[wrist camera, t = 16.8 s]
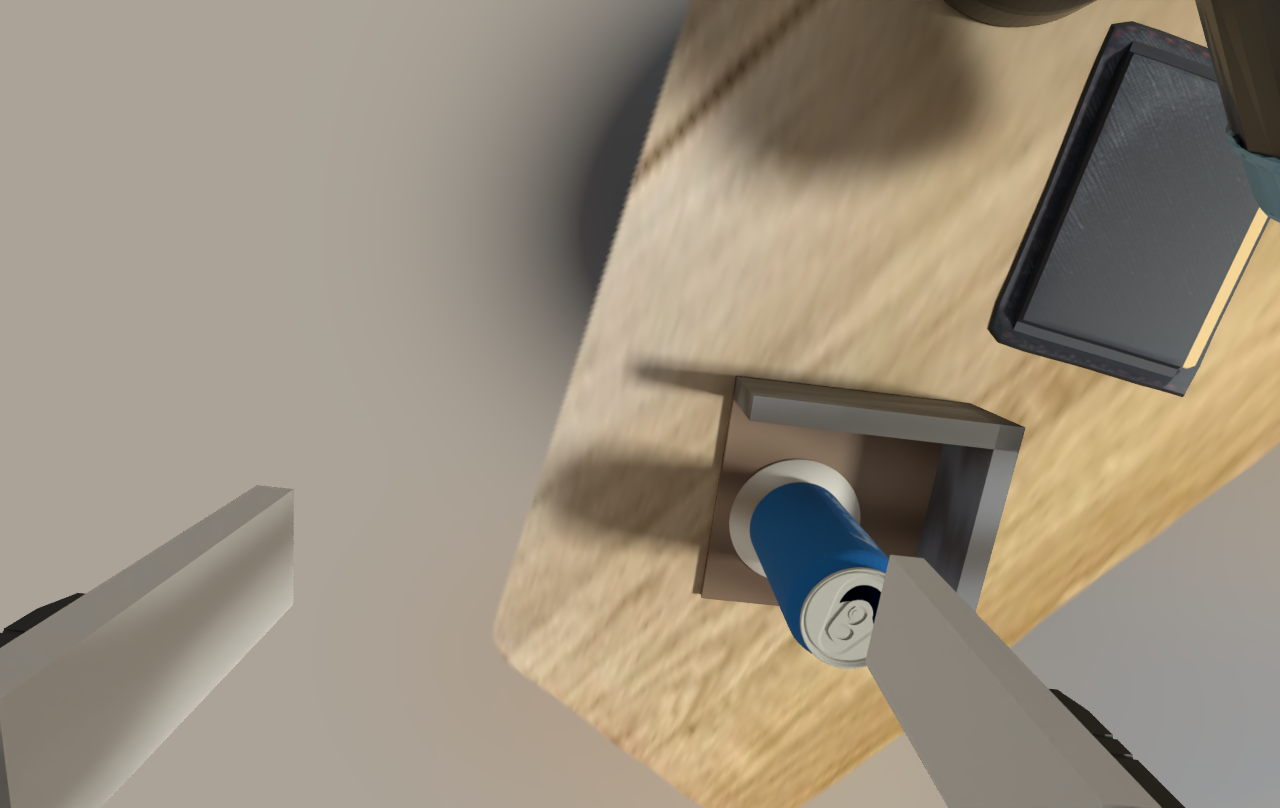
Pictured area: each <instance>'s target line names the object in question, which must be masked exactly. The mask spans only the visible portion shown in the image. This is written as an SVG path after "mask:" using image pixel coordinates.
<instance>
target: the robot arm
mask: <svg viewBox="0 0 1280 808" xmlns="http://www.w3.org/2000/svg"><path fill="white" fill-rule="evenodd" d="M945 1H946V2H947V3H948V4H949V5H951V6H952V7H954V8H955V9H956V10H958V11H960V12H961V13H963V14H965V15H967V16H969V17H971V18H973V19H976V20H978V21H981V22H984V23H988V24H992V25H997V26H1005V27H1028V26H1035V25H1040V24H1045V23H1048V22H1052V21H1055V20H1058V19H1060V18H1063V17H1065V16H1067V15H1070V14H1072V13H1074V12H1076V11H1078V10H1079V9H1081V8H1083V7H1085V6H1087V5H1089V4H1091V3H1092V2H1094V1H1096V0H945ZM1195 1H1196V5H1197V9H1198V13H1199V16H1200V20H1201V24H1202V27H1203V31H1204V35H1205V39H1206V42H1207V46H1208V50H1209V53H1210V57H1211V61H1212V65H1213V68H1214V72H1215V76H1216V79H1217V83H1218V87H1219V91H1220V94H1221V98H1222V102H1223V105H1224V109H1225V113H1226V117H1227V120H1228V124H1227V126H1226V128H1225V133H1226V137H1227V142H1228V143H1229V145H1230V147H1231V148H1232V150H1233V151H1235V152H1236V153H1237V154H1238V155H1239V156H1240V158H1241V161H1242V164H1243V166H1244V169H1245V172H1246V175H1247V178H1248V181H1249V184H1250V187H1251V189H1252V192H1253V195H1254V198H1255V200H1256V202H1257V204H1258V206H1259V207H1260V208H1261V210H1262V211H1263V212H1264V213H1265V214H1266V215H1267V216H1268V217H1269V218H1271V219H1273V220H1275V221H1278V222H1280V0H1195ZM292 605H293V489H286V488H277V487H267V486H259V485H257V486H255V487H254V488H252V489H251V490H249V491H247V492H246V493H244V494H243V495H241V496H239V497H238V498H236V499H235V500H233V501H231V502H230V503H228V504H227V505H225V506H224V507H222V508H221V509H219V510H217V511H216V512H214V513H213V514H211V515H209V516H208V517H206V518H205V519H203V520H202V521H200V522H198V523H197V524H195V525H194V526H192V527H190V528H189V529H187V530H186V531H184V532H183V533H181V534H179V535H178V536H176V537H175V538H173V539H172V540H170V541H169V542H167V543H165V544H164V545H162V546H161V547H159V548H157V549H156V550H154V551H153V552H151V553H149V554H148V555H146V556H145V557H143V558H142V559H140V560H138V561H137V562H135V563H134V564H132V565H131V566H129V567H127V568H126V569H124V570H123V571H121V572H120V573H118V574H116V575H115V576H113V577H112V578H110V579H108V580H107V581H105V582H104V583H102V584H101V585H99V586H97V587H96V588H94V589H93V590H91V591H89V592H88V593H86V594H83V593H77V594H74V595H72V596H69V597H66V598H64V599H61V600H58V601H56V602H54V603H51V604H48V605H45V606H43V607H40V608H38V609H36V610H34V611H32V612H31V613H29V614H27V615H26V616H24V617H23V618H21V619H19V620H18V621H16V622H14V623H13V624H11V625H9V626H8V627H6V628H4V631H3V633H0V808H101V807H102V806H103V805H104V804H105V803H106V802H107V801H108V800H109V798H111V796H112V795H113V794H114V793H115V792H116V791H117V790H118V789H119V788H120V787H121V786H122V785H123V784H124V783H125V782H126V781H127V780H128V778H130V776H131V775H132V774H133V773H134V772H135V771H136V770H137V769H138V768H139V767H140V766H141V765H142V764H143V763H144V762H145V761H146V759H147V758H148V757H149V756H150V755H151V754H152V753H153V752H154V751H155V750H156V749H157V748H158V747H159V746H160V745H161V743H162V742H164V740H165V739H166V738H167V737H168V736H169V735H170V734H171V733H172V732H173V731H174V730H175V729H176V728H177V727H178V726H179V725H180V724H181V722H182V721H183V720H184V719H185V718H186V717H187V716H188V715H189V714H190V713H191V712H192V711H193V710H194V709H195V708H196V707H197V706H198V705H199V704H200V702H201V701H202V700H203V699H204V698H205V697H206V696H207V695H208V694H209V693H210V692H211V691H212V690H213V689H214V688H215V687H216V685H217V684H218V683H219V682H220V681H221V680H222V679H223V678H224V677H225V676H226V675H227V674H228V673H229V672H230V671H231V670H232V668H234V666H235V665H236V664H237V663H238V662H239V661H240V660H241V659H242V658H243V657H244V656H245V655H246V654H247V652H249V651H250V650H251V649H252V647H253V646H254V645H255V644H256V643H257V642H258V641H259V640H260V639H261V638H262V637H263V636H264V635H265V634H266V633H267V631H268V630H269V629H270V628H271V627H272V626H273V625H274V624H275V623H276V622H277V621H278V620H279V619H280V618H281V617H282V616H283V615H284V614H285V613H286V611H287V610H288V609H289V608H290V607H291V606H292ZM865 663H866V665H867V667H868V669H869V670H870V672H871V674H872V675H873V677H874V679H875V681H876V682H877V684H878V686H879V688H880V689H881V691H882V693H883V695H884V696H885V698H886V700H887V702H888V703H889V705H890V707H891V709H892V710H893V712H894V714H895V716H896V717H897V719H898V721H899V723H900V724H901V726H902V728H903V730H904V731H905V733H906V735H907V736H908V738H909V740H910V742H911V744H912V745H913V747H914V749H915V751H916V752H917V754H918V756H919V758H920V759H921V761H922V763H923V765H924V766H925V768H926V770H927V771H928V773H929V775H930V777H931V778H932V780H933V782H934V784H935V785H936V787H937V789H938V791H939V792H940V794H941V796H942V797H943V799H944V801H945V803H946V805H947V806H948V808H1185V807H1184V806H1183V805H1182V804H1181V803H1180V802H1179V801H1178V800H1177V799H1176V798H1175V797H1174V796H1173V795H1172V794H1171V793H1170V792H1169V791H1168V790H1167V789H1166V788H1165V787H1164V786H1163V785H1162V784H1161V783H1160V782H1159V781H1158V780H1157V779H1156V778H1155V777H1154V776H1153V775H1152V774H1151V773H1150V772H1149V771H1148V770H1147V769H1146V768H1145V767H1144V766H1143V765H1142V764H1141V763H1140V762H1139V761H1138V760H1134V759H1133V757H1132V754H1131V753H1130V752H1129V751H1128V750H1127V749H1126V748H1125V747H1124V746H1123V745H1122V744H1121V743H1120V742H1119V741H1118V740H1116V739H1113V737H1112V736H1113V735H1112V734H1111V733H1110V732H1109V731H1108V730H1107V729H1106V728H1105V727H1104V726H1103V725H1102V724H1101V723H1100V722H1099V721H1098V720H1097V719H1096V718H1095V717H1094V716H1093V715H1092V714H1091V713H1090V712H1089V711H1088V710H1086V709H1085V708H1084V707H1082V706H1081V705H1079V704H1078V703H1076V702H1075V701H1073V700H1072V699H1070V698H1069V697H1067V696H1066V695H1064V694H1063V693H1062V692H1060V691H1059V690H1055V689H1048V688H1047V687H1046V686H1045V685H1044V684H1043V683H1042V682H1041V681H1040V680H1039V679H1038V678H1037V677H1036V675H1035V674H1033V672H1032V671H1031V670H1030V669H1029V668H1028V667H1027V666H1026V665H1025V664H1024V663H1023V662H1022V661H1021V660H1020V659H1019V658H1018V657H1017V656H1016V655H1015V653H1013V652H1012V650H1011V649H1010V648H1009V647H1008V646H1007V645H1006V644H1005V643H1004V642H1003V641H1002V640H1001V639H1000V638H999V637H998V636H997V635H996V634H995V633H994V632H993V630H992V629H991V628H990V627H989V626H988V625H987V624H986V623H985V622H984V621H983V620H982V619H981V618H980V617H979V616H978V615H977V614H976V613H975V612H974V611H973V610H972V609H971V607H970V606H969V605H968V604H967V603H966V602H965V601H964V600H963V599H962V598H961V597H960V596H959V595H958V594H957V593H956V592H955V591H954V590H953V589H952V588H951V587H950V585H949V584H948V583H947V582H946V581H945V580H944V579H943V578H942V577H941V576H940V575H939V574H938V573H937V572H936V571H935V570H934V569H933V568H932V567H931V566H930V565H929V564H928V562H927V561H926V560H925V559H924V558H916V557H907V556H898V555H890V558H889V562H888V566H887V571H886V575H885V579H884V583H883V588H882V592H881V596H880V600H879V605H878V609H877V613H876V617H875V622H874V626H873V630H872V634H871V639H870V643H869V647H868V651H867V656H866V660H865Z"/></svg>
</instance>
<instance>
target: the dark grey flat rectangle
mask: <svg viewBox="0 0 1280 808" xmlns="http://www.w3.org/2000/svg"><path fill="white" fill-rule="evenodd" d="M1227 124H1228V120H1227V117H1226V113H1225V109H1224V105H1223V102H1222V98H1221V94H1220V91H1219V87H1218V83H1217V79H1216V76H1215V72H1214V68H1213V65H1212V61H1211V57H1210V53H1209V50H1208V48H1206V47H1204V46H1201V45H1198V44H1195V43H1193V42H1190V41H1187V40H1185V39H1182V38H1179V37H1177V36H1174V35H1171V34H1169V33H1166V32H1163V31H1161V30H1158V29H1155V28H1151V27H1148V26H1145V25H1142V24H1139V23H1136V22H1132V21H1131V22H1124V23H1117V24H1112V26H1111V28H1110V30H1109V32H1108V35H1107V37H1106V39H1105V41H1104V44H1103V46H1102V48H1101V50H1100V53H1099V55H1098V57H1097V59H1096V62H1095V64H1094V67H1093V69H1092V72H1091V74H1090V76H1089V79H1088V81H1087V84H1086V86H1085V89H1084V91H1083V94H1082V96H1081V99H1080V101H1079V104H1078V106H1077V109H1076V112H1075V114H1074V117H1073V119H1072V122H1071V124H1070V127H1069V129H1068V132H1067V134H1066V137H1065V140H1064V142H1063V145H1062V147H1061V150H1060V152H1059V155H1058V157H1057V160H1056V163H1055V165H1054V168H1053V170H1052V173H1051V175H1050V178H1049V180H1048V183H1047V186H1046V188H1045V190H1044V193H1043V195H1042V197H1041V200H1040V202H1039V205H1038V207H1037V209H1036V212H1035V214H1034V216H1033V219H1032V221H1031V223H1030V226H1029V228H1028V231H1027V233H1026V235H1025V238H1024V240H1023V242H1022V245H1021V247H1020V249H1019V252H1018V254H1017V256H1016V259H1015V261H1014V264H1013V266H1012V268H1011V271H1010V273H1009V275H1008V277H1007V280H1006V282H1005V284H1004V286H1003V289H1002V291H1001V293H1000V295H999V298H998V300H997V302H996V305H995V308H994V312H993V315H992V318H991V322H990V325H989V328H988V329H989V330H990V332H991V333H992V334H993V336H994V337H995V338H996V340H997V341H998V342H999V343H1002V344H1005V345H1007V346H1010V347H1013V348H1016V349H1019V350H1022V351H1025V352H1028V353H1032V354H1036V355H1039V356H1043V357H1047V358H1050V359H1054V360H1058V361H1061V362H1065V363H1069V364H1072V365H1076V366H1079V367H1083V368H1087V369H1090V370H1093V371H1096V372H1100V373H1103V374H1106V375H1109V376H1113V377H1116V378H1119V379H1122V380H1126V381H1129V382H1132V383H1135V384H1139V385H1142V386H1146V387H1150V388H1154V389H1157V390H1161V391H1164V392H1168V393H1171V394H1175V395H1178V396H1181V397H1183V396H1184V395H1185V393H1186V391H1187V389H1188V387H1189V385H1190V383H1191V382H1192V380H1193V378H1194V376H1195V374H1196V372H1197V370H1198V369H1199V367H1200V365H1201V362H1202V360H1203V358H1204V356H1205V353H1206V351H1207V349H1208V346H1209V344H1210V342H1211V340H1212V337H1213V335H1214V333H1215V331H1216V329H1217V327H1218V325H1219V323H1220V320H1221V318H1222V316H1223V314H1224V312H1225V310H1226V308H1227V306H1228V304H1229V302H1230V300H1231V298H1232V296H1233V294H1234V292H1235V289H1236V287H1237V285H1238V283H1239V281H1240V279H1241V277H1242V275H1243V273H1244V271H1245V269H1246V267H1247V265H1248V263H1249V261H1250V259H1251V256H1252V254H1253V252H1254V250H1255V248H1256V246H1257V244H1258V242H1259V240H1260V238H1261V236H1262V234H1263V232H1264V230H1265V228H1266V226H1267V223H1268V221H1269V219H1270V218H1269V217H1268V216H1267V215H1266V214H1265V213H1264V212H1263V211H1262V210H1261V208H1260V207H1259V206H1258V204H1257V202H1256V200H1255V198H1254V195H1253V192H1252V189H1251V187H1250V184H1249V181H1248V178H1247V175H1246V172H1245V169H1244V166H1243V164H1242V161H1241V158H1240V156H1239V155H1238V154H1237V153H1236V152H1235V151H1233V150H1232V148H1231V147H1230V145H1229V143H1228V142H1227V137H1226V133H1225V128H1226V126H1227Z"/></svg>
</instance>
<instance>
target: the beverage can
mask: <svg viewBox="0 0 1280 808" xmlns="http://www.w3.org/2000/svg"><path fill="white" fill-rule="evenodd" d="M750 538H751V542H752V545H753V547H754V550H755V552H756V554H757V556H758V559H759V561H760V563H761V565H762V568H763V570H764V572H765V574H766V577H767V579H768V581H769V584H770V586H771V588H772V590H773V593H774V595H775V597H776V599H777V602H778V604H779V606H780V609H781V611H782V613H783V615H784V618H785V620H786V622H787V624H788V627H789V629H790V631H791V633H792V635H793V636H794V638H795V639H796V640H797V641H798V643H799V644H800V645H801V646H802V647H804V648H805V649H806V650H807V651H809V652H810V653H812V654H814V655H815V656H816V657H817V658H818V659H820V660H821V661H823V662H824V663H826V664H828V665H831V666H834V667H838V668H845V669H856V668H863V667H867V665H866V663H865V660H866V656H867V651H868V647H869V643H870V639H871V634H872V630H873V626H874V622H875V617H876V613H877V609H878V605H879V600H880V596H881V592H882V588H883V583H884V579H885V575H886V571H887V566H888V562H889V559H888V557H887V556H886V555H885V554H884V553H883V552H882V550H881V549H880V548H879V547H878V546H877V545H876V544H875V542H874V541H873V540H872V539H871V538H870V537H869V535H868V534H867V533H866V532H865V531H864V530H863V529H862V527H861V526H860V525H859V524H858V523H857V522H856V520H855V519H854V518H853V517H852V516H851V515H850V513H849V512H848V511H847V510H846V509H845V508H844V507H843V505H842V504H841V503H840V502H839V501H838V500H837V498H836V497H835V496H834V495H833V494H832V493H830V492H829V491H828V490H826V489H825V488H823V487H821V486H818V485H816V484H812V483H807V482H794V483H789V484H785V485H782V486H779V487H777V488H775V489H774V490H772V491H771V492H769V493H768V494H767V495H766V496H764V497H763V498H762V500H761V501H760V502H759V503H758V505H757V506H756V508H755V510H754V512H753V514H752V517H751V522H750Z"/></svg>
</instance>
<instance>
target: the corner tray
mask: <svg viewBox="0 0 1280 808" xmlns="http://www.w3.org/2000/svg"><path fill="white" fill-rule="evenodd" d="M1024 431H1025V427H1023V426H1021V425H1018V424H1016V423H1014V422H1011V421H1009V420H1007V419H1005V418H1002V417H1000V416H998V415H996V414H993V413H991V412H989V411H986V410H984V409H982V408H980V407H977V406H975V405H973V404H969V403H960V402H952V401H944V400H935V399H927V398H919V397H910V396H902V395H894V394H885V393H877V392H868V391H860V390H852V389H843V388H835V387H827V386H818V385H810V384H802V383H793V382H785V381H777V380H768V379H760V378H751V377H743V376H736V380H735V386H734V392H733V399H732V405H731V411H730V417H729V423H728V430H727V436H726V442H725V448H724V454H723V460H722V467H721V473H720V479H719V485H718V491H717V498H716V504H715V510H714V516H713V522H712V528H711V535H710V541H709V547H708V553H707V559H706V566H705V572H704V578H703V584H702V590H701V597H702V598H706V599H716V600H726V601H736V602H746V603H755V604H765V605H775V606H779V604H778V602H777V599H776V597H775V595H774V593H773V590H772V588H771V586H770V584H769V581H768V579H767V577H766V574H765V572H764V570H763V568H762V565H761V563H760V561H759V559H758V556H757V554H756V552H755V550H754V547H753V545H752V542H751V538H750V522H751V517H752V514H753V512H754V510H755V508H756V506H757V505H758V503H759V502H760V501H761V500H762V498H763V497H764V496H766V495H767V494H768V493H769V492H771V491H772V490H774V489H775V488H777V487H779V486H782V485H785V484H789V483H794V482H807V483H812V484H816V485H818V486H821V487H823V488H825V489H826V490H828V491H829V492H830V493H832V494H833V495H834V496H835V497H836V498H837V500H838V501H839V502H840V503H841V504H842V505H843V507H844V508H845V509H846V510H847V511H848V512H849V513H850V515H851V516H852V517H853V518H854V519H855V520H856V522H857V523H858V524H859V525H860V526H861V527H862V529H863V530H864V531H865V532H866V533H867V534H868V535H869V537H870V538H871V539H872V540H873V541H874V542H875V544H876V545H877V546H878V547H879V548H880V549H881V550H882V552H883V553H884V554H885V555H886V556H887V557H888V559H889V558H890V555H898V556H907V557H916V558H924V559H925V560H926V561H927V562H928V564H929V565H930V566H931V567H932V568H933V569H934V570H935V571H936V572H937V573H938V574H939V575H940V576H941V577H942V578H943V579H944V580H945V581H946V582H947V583H948V584H949V585H950V587H951V588H952V589H953V590H954V591H955V592H956V593H957V594H958V595H959V596H960V597H961V598H962V599H963V600H964V601H965V602H966V603H967V604H968V605H969V606H970V607H971V609H972V610H973V611H974V612H976V608H977V604H978V601H979V597H980V593H981V590H982V586H983V582H984V579H985V575H986V571H987V568H988V564H989V560H990V557H991V553H992V549H993V545H994V542H995V538H996V534H997V531H998V527H999V523H1000V520H1001V516H1002V512H1003V509H1004V505H1005V501H1006V498H1007V494H1008V490H1009V486H1010V483H1011V479H1012V475H1013V472H1014V468H1015V464H1016V461H1017V457H1018V453H1019V450H1020V446H1021V442H1022V439H1023V435H1024Z"/></svg>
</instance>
